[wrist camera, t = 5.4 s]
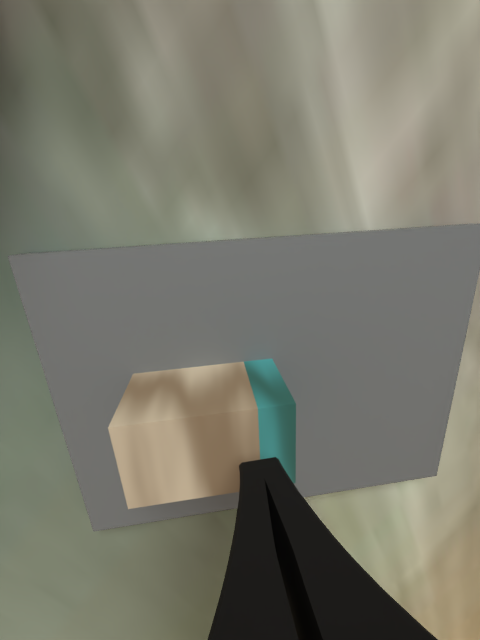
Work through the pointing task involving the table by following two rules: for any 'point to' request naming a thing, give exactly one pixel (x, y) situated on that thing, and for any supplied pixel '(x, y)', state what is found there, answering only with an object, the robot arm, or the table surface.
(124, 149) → the table surface
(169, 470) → the birch block
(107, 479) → the slate board
